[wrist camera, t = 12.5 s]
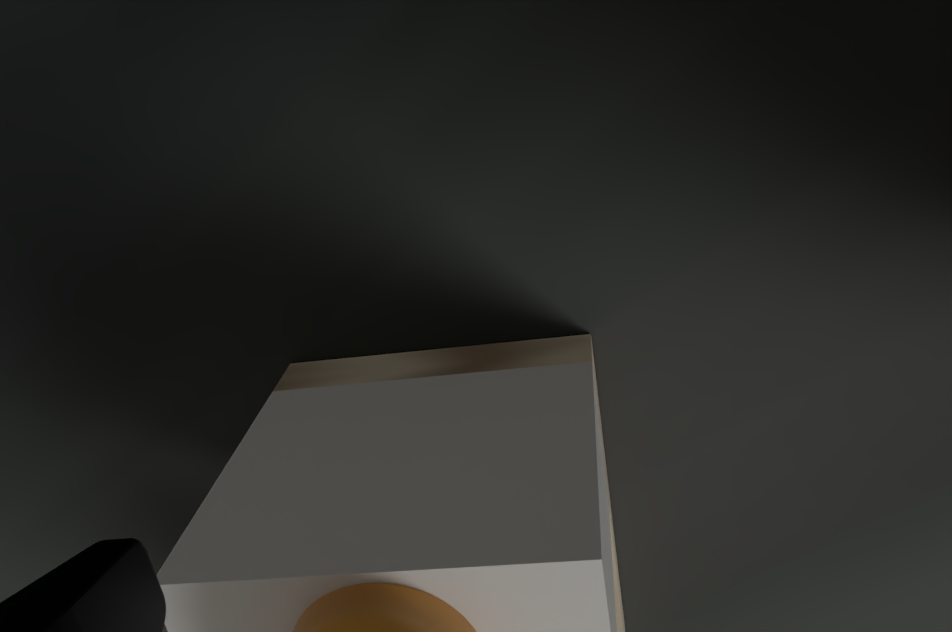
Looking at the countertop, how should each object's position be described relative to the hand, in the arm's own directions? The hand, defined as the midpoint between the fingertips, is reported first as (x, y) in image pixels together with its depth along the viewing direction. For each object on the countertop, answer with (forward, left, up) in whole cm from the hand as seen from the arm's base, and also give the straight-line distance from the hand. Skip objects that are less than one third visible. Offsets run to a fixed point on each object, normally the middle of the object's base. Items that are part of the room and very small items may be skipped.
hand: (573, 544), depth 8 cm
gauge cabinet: (+4, +6, -12) cm, 14 cm away
